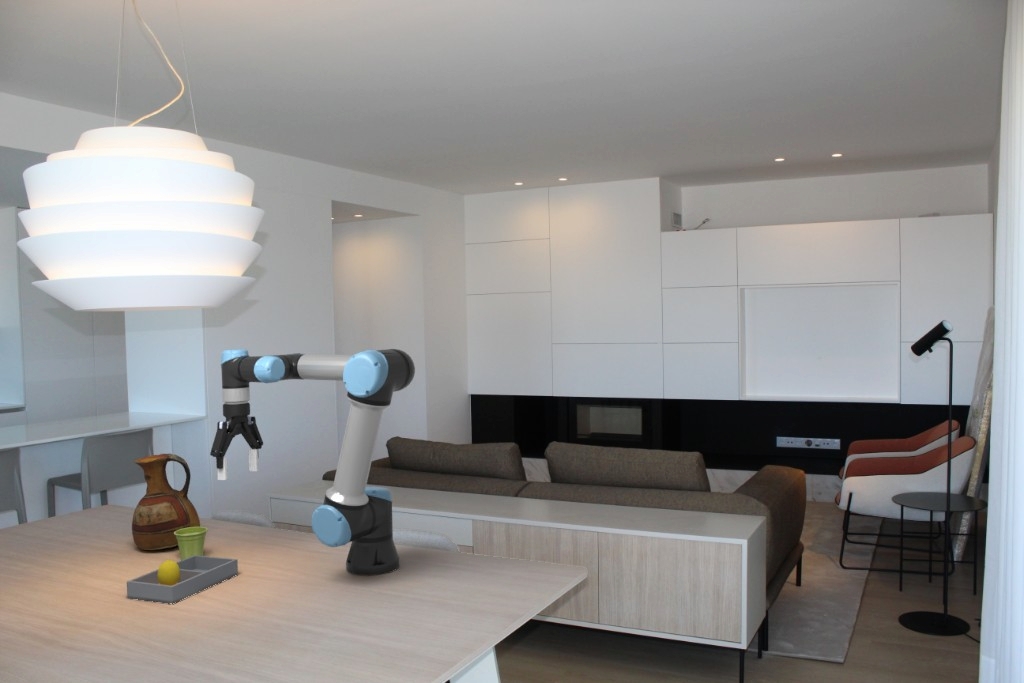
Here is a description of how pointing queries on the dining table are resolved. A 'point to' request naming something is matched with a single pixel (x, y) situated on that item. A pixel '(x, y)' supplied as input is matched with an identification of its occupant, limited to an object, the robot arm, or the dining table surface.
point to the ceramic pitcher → (162, 506)
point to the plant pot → (191, 541)
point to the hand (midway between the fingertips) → (238, 475)
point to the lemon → (168, 573)
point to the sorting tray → (183, 579)
